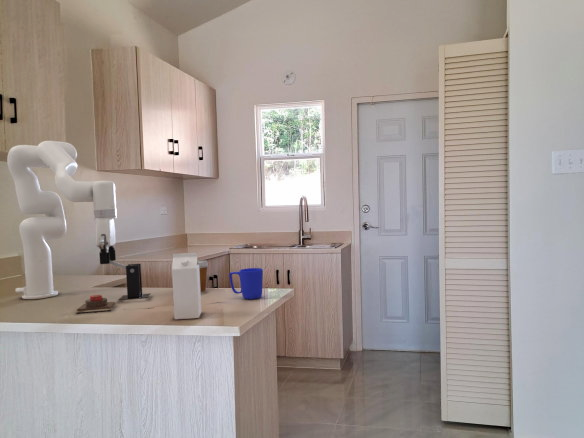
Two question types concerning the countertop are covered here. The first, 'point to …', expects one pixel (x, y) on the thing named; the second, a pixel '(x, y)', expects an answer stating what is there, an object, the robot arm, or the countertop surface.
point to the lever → (117, 264)
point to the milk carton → (186, 286)
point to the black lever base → (134, 283)
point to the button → (95, 297)
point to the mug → (249, 282)
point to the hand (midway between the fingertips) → (108, 262)
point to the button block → (95, 306)
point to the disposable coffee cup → (203, 274)
